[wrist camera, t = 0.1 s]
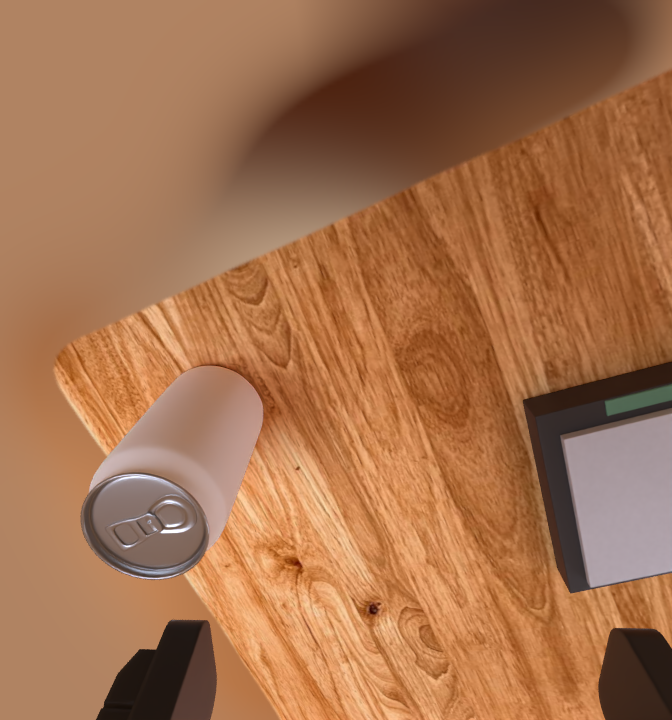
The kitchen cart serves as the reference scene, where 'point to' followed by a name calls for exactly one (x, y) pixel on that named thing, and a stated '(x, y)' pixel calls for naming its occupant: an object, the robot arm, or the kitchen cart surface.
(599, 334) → the kitchen cart surface
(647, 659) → the robot arm
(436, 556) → the kitchen cart surface
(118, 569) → the can
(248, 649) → the kitchen cart surface
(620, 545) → the scale
